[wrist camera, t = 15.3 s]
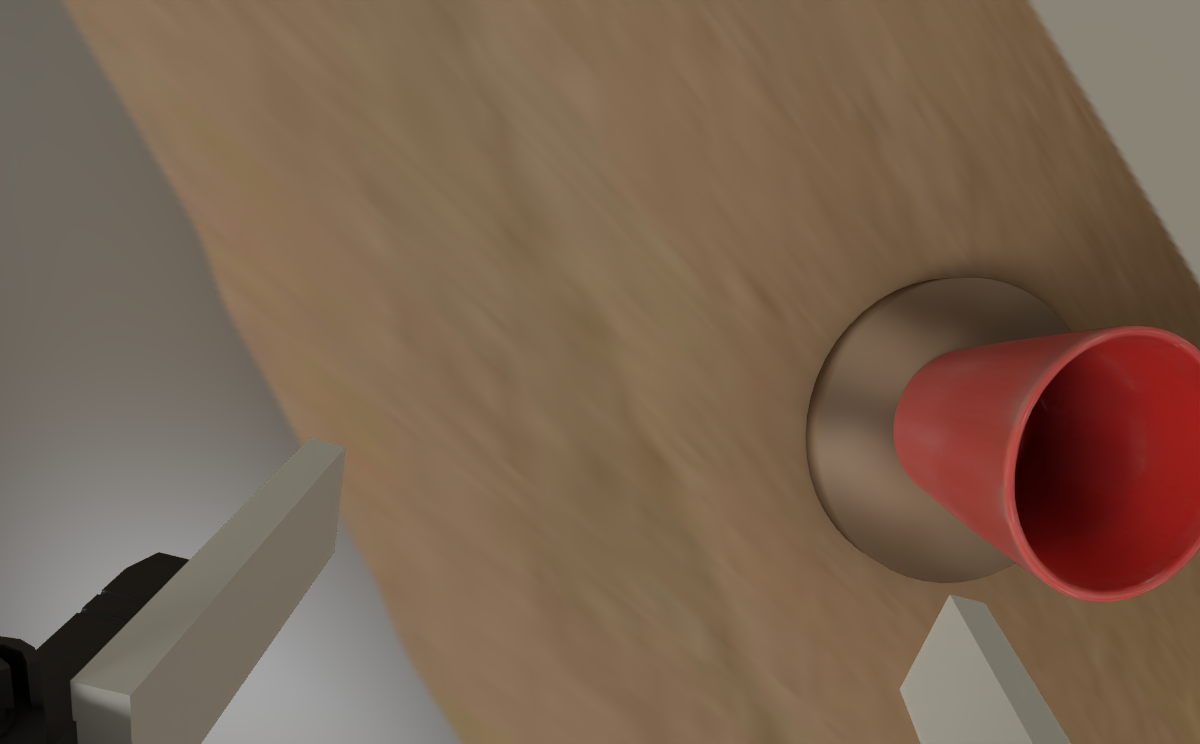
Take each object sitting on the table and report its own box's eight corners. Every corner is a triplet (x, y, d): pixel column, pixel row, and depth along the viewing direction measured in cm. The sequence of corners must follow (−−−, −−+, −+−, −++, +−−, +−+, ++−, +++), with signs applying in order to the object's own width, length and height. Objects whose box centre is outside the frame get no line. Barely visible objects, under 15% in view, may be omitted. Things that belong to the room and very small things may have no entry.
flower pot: (1086, 393, 39) (1289, 425, 29) (971, 564, 38) (1139, 651, 29) (947, 276, 36) (1118, 269, 27) (824, 456, 36) (953, 512, 27)
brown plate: (827, 261, 37) (842, 259, 35) (1094, 296, 40) (1117, 295, 38) (787, 566, 38) (800, 577, 37) (1049, 577, 41) (1070, 587, 40)
